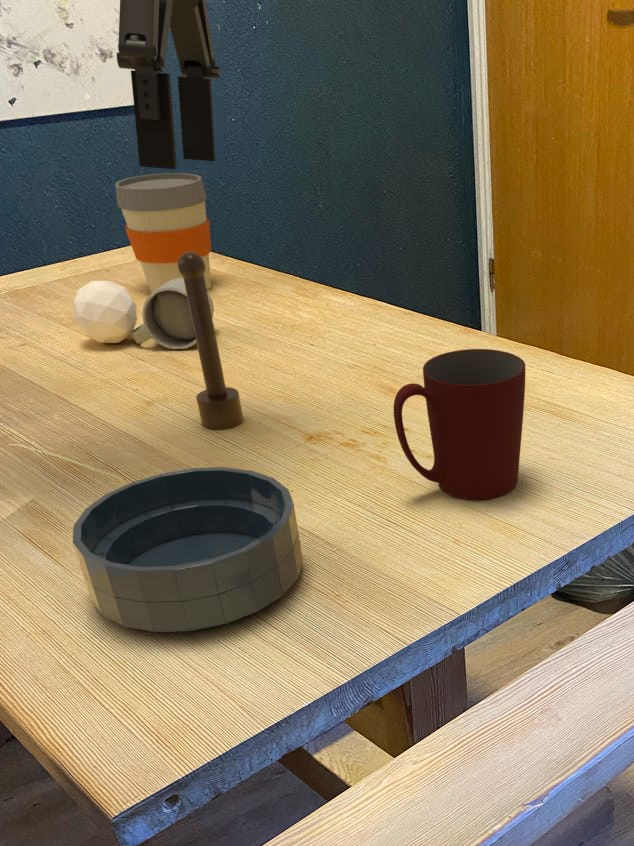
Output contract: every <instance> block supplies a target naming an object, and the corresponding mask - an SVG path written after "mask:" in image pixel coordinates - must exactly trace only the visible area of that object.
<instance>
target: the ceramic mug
mask: <svg viewBox="0 0 634 846" xmlns="http://www.w3.org/2000/svg"><path fill="white" fill-rule="evenodd" d="M207 294H208V299H209V304H210V309H211V314H212V319H213V318H214V313H215V312H214V311H215V309H214V301H213V299H212V297H211V295H210V293H209V291H208V290H207ZM141 316H142V322H143V323H142V324H140V325H139V326H137V327H136V328H134V330H133V331H132V332H131V335H130V336H131V337H132V339H133V340H134V342H135V343H136V344H138V345H139V344H142V343H145V342H146V341H148V340H150V339H152V340H153V341H155V342H156V343H158V345H160V346H162V347H164V348H167V349H170V350H175V349H183V350H187V349H189V348H192V347H193V346H195V345H197V342H196V337H195V333H194V328H193V323H192V318H191V313H190V308H189V304H188V299H187V294H186V289H185V284H184V280H183V278H177V279H172V280H170V281H168V282H167V283H165V284H164V285H163V286H161V287H160V288H158V289H157V290H155V291H154V292H152V293H151V292H150V294H149V295H148V296H147V298H146V299H145V302H144V304H143V307H142V315H141Z"/></svg>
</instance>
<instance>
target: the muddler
mask: <svg viewBox="0 0 634 846" xmlns="http://www.w3.org/2000/svg"><path fill="white" fill-rule="evenodd" d="M178 270H179V272H180V274H181V275H182V276H183V280H184V284H185V289H186V294H187V299H188V304H189V308H190V313H191V318H192V323H193V328H194V333H195V337H196V342H197V343H196V346H197V351H198V355H199V356H198V357H199V361H200V365H201V371H202V375H203V380H204V385H205V390H202V391H200V392H199V393H198V394H196V397H195V398H196V404H197V409H198V413H199V418H200V422H201V426H202V427H204V428H206V429H209V430H226V429H230V428H234V427H236V426H238V425H241V423H242V422H243V421H244V415H243V409H242V404H241V399H240V394H239V393H240V392H239V391H238V389H236V388H233V387H228V386H226V382H225V376H224V371H223V368H222V361H221V356H220V352H219V345H218V340H217V336H216V330H215V326H214V325H215V324H214V319H213V318H212V314H211V309H210V304H209V299H208V294H207V291H208V290H207V289H206V284H205V279H204V273H205V263H204V261H203V259H202V258H201V257H200V256H199V255H198V254H196V253H193V252H186V253H184V254H182V255H181V256H180V258H179V260H178Z"/></svg>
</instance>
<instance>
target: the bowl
mask: <svg viewBox="0 0 634 846" xmlns="http://www.w3.org/2000/svg"><path fill="white" fill-rule="evenodd" d="M291 495H292V494H291V493H290V490H289V489H288V488H287V487H286V486H285V485H283V484H282V483H281V482H280V481H278V480H277V479H276V478H274V477H272V476H268V475H266V474H263V473H261V472H260V473H259V472H257V471H254V470H249V469H243V468H234V467H224V466H219V467H216V466H215V467H192V468H187V469H180V470H175V471H168V472H167V471H166V472H162V473H158V474H155V475H151V476H148V477H145V478H142V479H138V480H134V481H132V482H129V483H127V484H125V485H122V486H120V487H118V488H115V489H114V490H111V491H110V492H108V493H106V494H104V495H102V496H101V497H99V498H98V499H97V500H96V501H94V502H93V503H92V504H90V505H89V506H87V507H86V508H84V510H83V511H82V513H81V514H80V516H79V517H78V518H77V520H76V521H75V522H74V524H73V527H72V545H73V548H74V551H75V554H76V557H77V560H78V563H79V566H80V570H81V573H82V576H83V579H84V581H85V585H86V587H87V588H86V589H87V590H88V593H89V596H90V600H91V602H92V603H93V605H94V606H95V607H96V608H97V610H98V611H99V613H100V614H101V615H102V616H103V617H104V618H107V619H109V620H110V621H113V622H115V623H117V624H118V625H121V626H122V627H125V628H130V629H134V630H135V629H136V630H142V631H146V632H154V633H171V632H173V633H174V632H176V633H177V632H192V631H199V630H200V631H201V630H205V629H210V628H215V627H219V626H222V625H223V626H224V625H226V624H229V623H232V622H236V621H238V620H240V619H243V618H245V617H248V616H249V615H252V614H255V613H257V612H259V611H261V610H263V609H264V608H266V607H267V606H269V605H270V604H272V603H273V602H275V601H277V600H278V599H280V598H281V597H283V596H284V595H285V594H286V593H287V592H288V590H289V589H291V587H292V586H293V585H294V584H295V582H297V580H298V579H299V575H300V573H301V568H302V565H303V562H304V559H303V552H302V546H301V541H300V534H299V528H298V521H297V516H296V509H295V504H294V501H293V498H292V496H291Z"/></svg>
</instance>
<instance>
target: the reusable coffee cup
mask: <svg viewBox="0 0 634 846" xmlns="http://www.w3.org/2000/svg"><path fill="white" fill-rule="evenodd" d="M114 186H115V187H114V188H115V194H116V202H117V207H118V208H119V209H121V212H122V214H123V217H124V220H125V223H126V225H124V229H125V233H126V234H127V237H128V241H129V243H130V246H131V248H132V251H133V254H134V257H135V259H136V260H137V261H138V262H140V264H141V268H142V271H143V273H144V277H145V280H146V283H147V285H148V287H149V290H150V294H151V293H152V292H154V291H155V290H157V289H158V288H160V287H161V286H163V285H164V284H165V283H167V282H168V281H170V280H172V279H177V278H183V276H182V275H181V274H180V272H179V270H178V260H179V258H180V256H181V255H182V254H184V253H186V252H193V253H196V254H198V255H199V256H200V257H201V258H202V259H203V261H204V263H205V273H204V279H205V284H206V289H207V291H208V290H210V289H211V286H212V285H211V268H210V255H209V254H210V253H211V252H212V245H211V244H212V241H211V226H210V225H211V224H210V219H209V217H207V212H206V211H207V210H206V208H207V207H206V201H207V199H208V197H207V194H206V189H205V186H204V183H203V179H202V177H201V176H200V175H198V174H194V173H186V172H185V173H184V172H167V173H166V172H165V173H151V174H144V175H137V176H132V177H128V178H124V179H120V180H118V181H116V182H115V183H114Z"/></svg>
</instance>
